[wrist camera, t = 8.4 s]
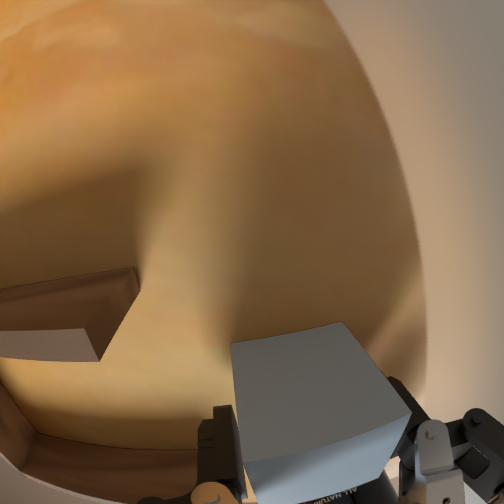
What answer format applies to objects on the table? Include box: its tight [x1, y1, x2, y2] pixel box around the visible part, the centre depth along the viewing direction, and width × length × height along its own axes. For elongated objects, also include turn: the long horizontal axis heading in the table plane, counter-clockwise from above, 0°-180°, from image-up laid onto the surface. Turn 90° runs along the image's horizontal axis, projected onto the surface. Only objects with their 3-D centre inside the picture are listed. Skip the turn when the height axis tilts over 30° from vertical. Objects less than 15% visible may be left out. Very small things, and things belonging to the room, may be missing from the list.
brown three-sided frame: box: [0, 267, 197, 504], centre depth 9 cm, size 13×15×4 cm
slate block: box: [230, 322, 412, 504], centre depth 9 cm, size 5×5×6 cm
